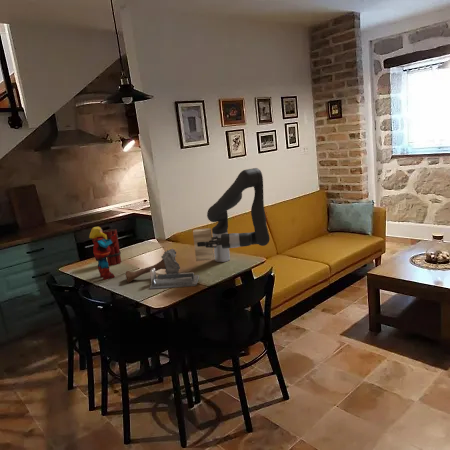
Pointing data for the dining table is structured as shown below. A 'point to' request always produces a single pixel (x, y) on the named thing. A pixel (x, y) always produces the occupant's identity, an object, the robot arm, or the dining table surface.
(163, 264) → the hammer
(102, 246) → the toy
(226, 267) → the dining table surface
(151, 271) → the rail
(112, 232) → the dynamite
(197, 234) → the wooden block
